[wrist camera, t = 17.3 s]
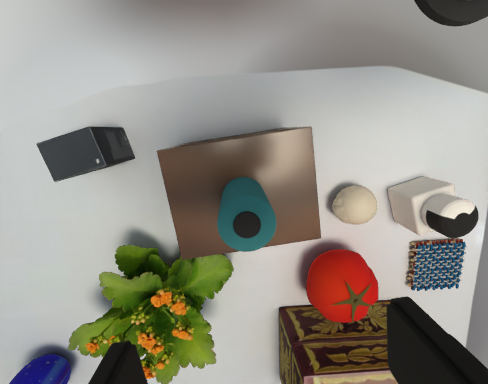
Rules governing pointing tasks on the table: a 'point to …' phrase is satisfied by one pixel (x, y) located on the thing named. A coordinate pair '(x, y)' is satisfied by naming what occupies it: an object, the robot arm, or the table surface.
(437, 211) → the medicine bottle
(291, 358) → the decorative box
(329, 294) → the tomato
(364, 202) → the cream round ball
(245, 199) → the teal cylinder
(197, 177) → the rack
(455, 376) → the robot arm
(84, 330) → the potted flower
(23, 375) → the ornament
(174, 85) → the table surface
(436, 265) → the woven mat
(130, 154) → the box
